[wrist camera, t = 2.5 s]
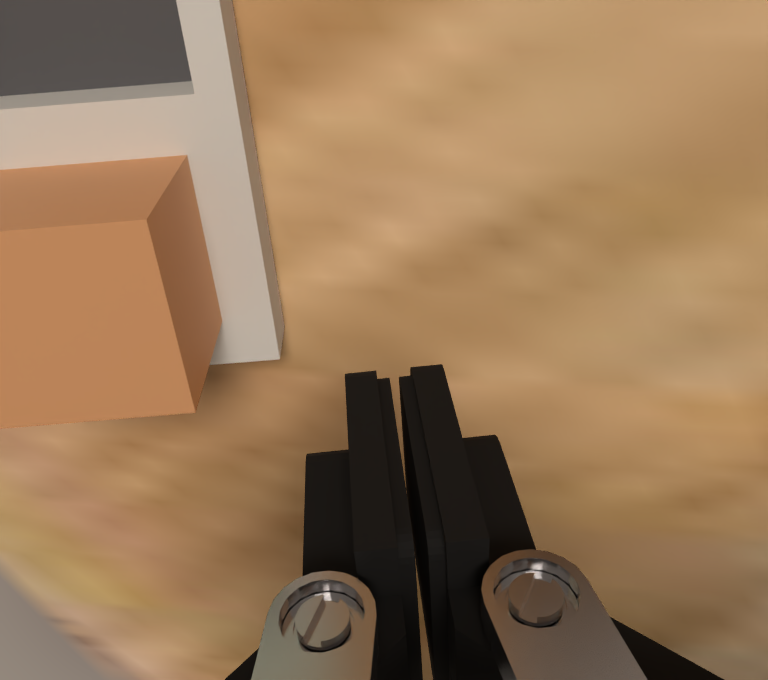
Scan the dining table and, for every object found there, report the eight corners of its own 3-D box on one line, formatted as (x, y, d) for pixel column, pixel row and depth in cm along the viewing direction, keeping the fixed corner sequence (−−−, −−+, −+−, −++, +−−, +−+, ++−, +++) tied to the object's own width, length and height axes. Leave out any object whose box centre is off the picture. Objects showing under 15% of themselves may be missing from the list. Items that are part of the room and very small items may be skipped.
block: (187, 154, 19) (146, 219, 15) (222, 320, 21) (195, 412, 17) (-5, 170, 19) (-96, 239, 15) (53, 334, 21) (-11, 429, 17)
